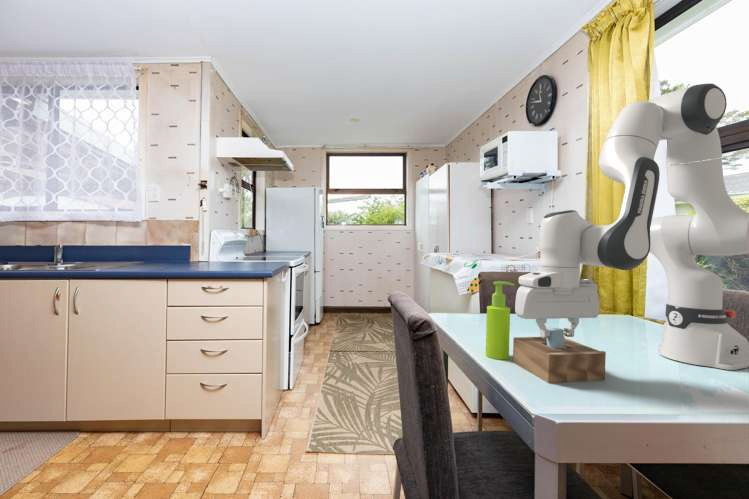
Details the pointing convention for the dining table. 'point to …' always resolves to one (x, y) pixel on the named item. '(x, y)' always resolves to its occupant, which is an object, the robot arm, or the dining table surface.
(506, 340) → the soap dispenser
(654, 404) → the dining table surface
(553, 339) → the dowel
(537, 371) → the socket block
